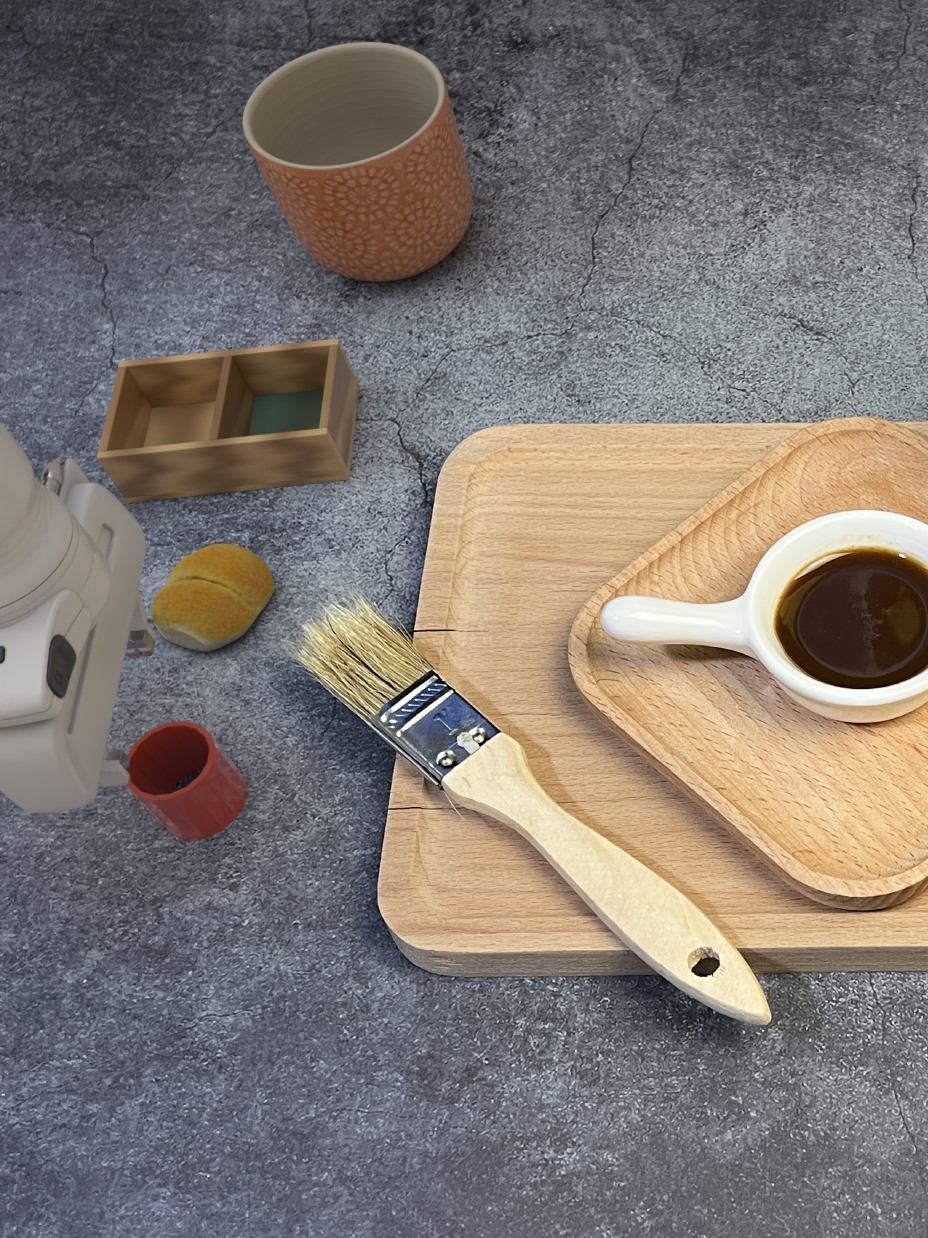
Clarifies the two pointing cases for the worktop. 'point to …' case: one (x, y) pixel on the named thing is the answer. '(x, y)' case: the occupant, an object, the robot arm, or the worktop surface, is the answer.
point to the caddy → (230, 421)
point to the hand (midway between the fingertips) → (131, 710)
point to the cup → (171, 759)
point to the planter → (363, 158)
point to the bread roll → (212, 597)
